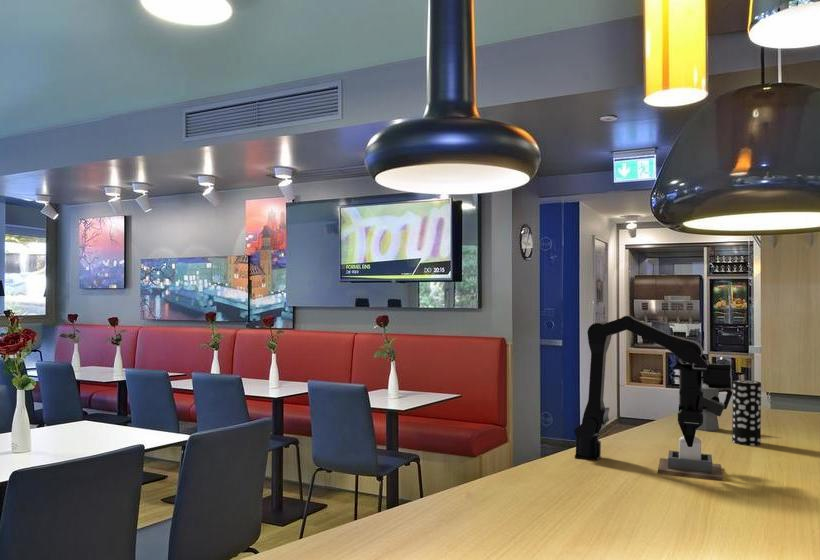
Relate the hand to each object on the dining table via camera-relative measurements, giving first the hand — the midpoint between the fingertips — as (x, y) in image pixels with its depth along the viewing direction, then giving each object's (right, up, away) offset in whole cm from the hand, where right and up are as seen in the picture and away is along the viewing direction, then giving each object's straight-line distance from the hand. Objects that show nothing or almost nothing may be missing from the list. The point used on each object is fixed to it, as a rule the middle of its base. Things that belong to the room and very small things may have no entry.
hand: (690, 443), depth 185 cm
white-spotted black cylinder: (+33, -9, +36) cm, 50 cm away
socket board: (0, -8, 0) cm, 8 cm away
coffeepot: (+31, -9, +58) cm, 66 cm away
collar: (0, -8, 0) cm, 8 cm away
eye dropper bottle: (0, -7, 0) cm, 7 cm away
